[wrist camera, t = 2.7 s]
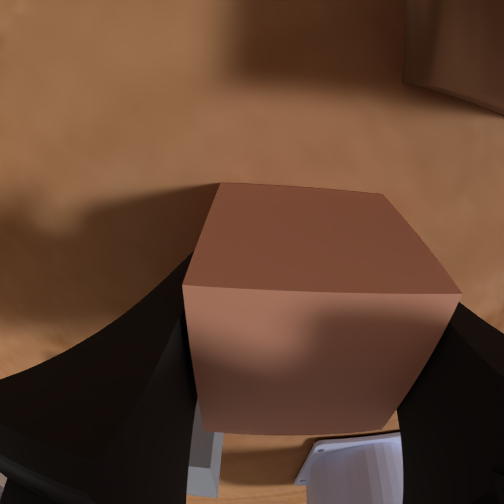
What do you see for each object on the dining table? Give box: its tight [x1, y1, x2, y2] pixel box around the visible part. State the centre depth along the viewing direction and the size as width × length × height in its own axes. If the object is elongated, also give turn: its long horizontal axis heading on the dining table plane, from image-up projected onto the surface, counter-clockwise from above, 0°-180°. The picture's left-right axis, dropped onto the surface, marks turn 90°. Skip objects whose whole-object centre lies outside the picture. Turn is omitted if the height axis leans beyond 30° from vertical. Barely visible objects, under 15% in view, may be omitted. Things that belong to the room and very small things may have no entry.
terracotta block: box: [182, 183, 462, 435], centre depth 8 cm, size 5×5×5 cm
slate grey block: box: [186, 399, 224, 498], centre depth 13 cm, size 5×5×5 cm
